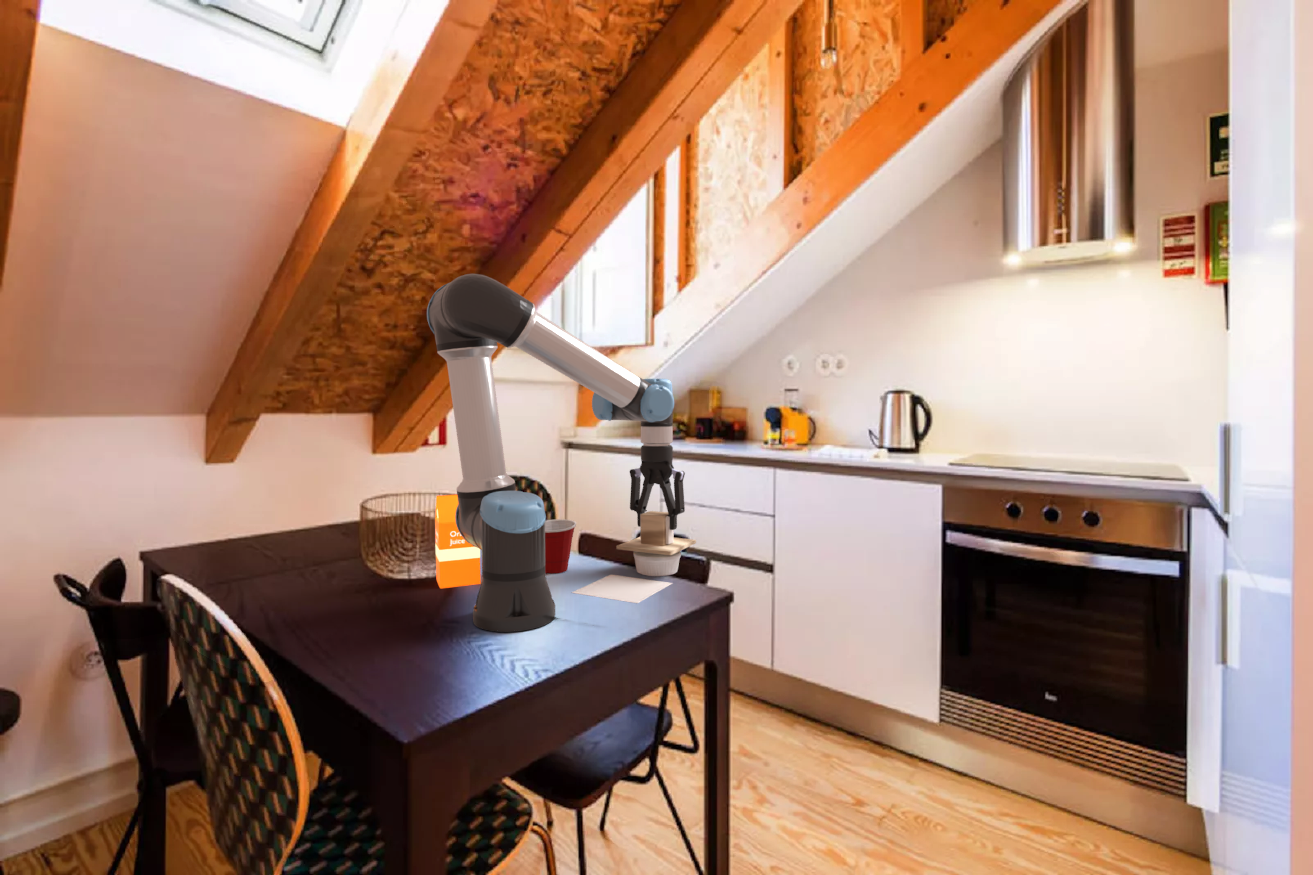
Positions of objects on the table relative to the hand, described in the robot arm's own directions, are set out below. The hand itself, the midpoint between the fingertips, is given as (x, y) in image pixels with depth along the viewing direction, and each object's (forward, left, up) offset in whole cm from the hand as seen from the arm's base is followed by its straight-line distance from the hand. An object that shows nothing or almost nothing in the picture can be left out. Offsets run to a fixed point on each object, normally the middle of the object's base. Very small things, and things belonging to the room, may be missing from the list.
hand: (657, 541), depth 154 cm
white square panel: (-16, 0, -8) cm, 18 cm away
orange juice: (-27, +37, -8) cm, 46 cm away
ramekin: (0, 0, -8) cm, 8 cm away
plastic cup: (-11, +22, -8) cm, 26 cm away
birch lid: (0, 0, -1) cm, 1 cm away
